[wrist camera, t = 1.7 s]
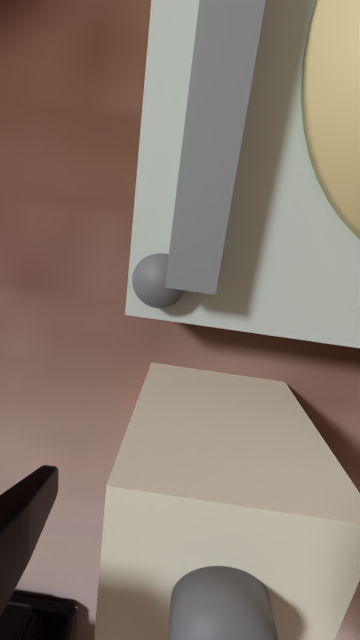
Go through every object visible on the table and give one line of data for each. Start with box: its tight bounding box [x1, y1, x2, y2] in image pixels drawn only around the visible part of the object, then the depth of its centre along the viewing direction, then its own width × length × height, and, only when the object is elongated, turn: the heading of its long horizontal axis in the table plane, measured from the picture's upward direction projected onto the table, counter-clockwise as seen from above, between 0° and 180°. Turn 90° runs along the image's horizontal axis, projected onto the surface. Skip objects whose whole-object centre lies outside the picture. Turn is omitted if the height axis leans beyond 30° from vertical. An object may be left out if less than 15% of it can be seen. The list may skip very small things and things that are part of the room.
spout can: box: [94, 363, 360, 640], centre depth 8 cm, size 8×5×6 cm, turn 172°
